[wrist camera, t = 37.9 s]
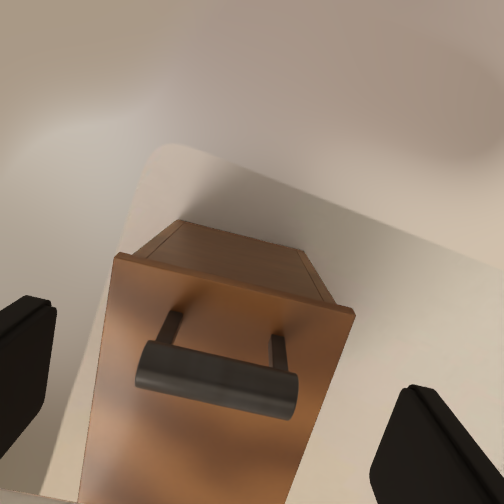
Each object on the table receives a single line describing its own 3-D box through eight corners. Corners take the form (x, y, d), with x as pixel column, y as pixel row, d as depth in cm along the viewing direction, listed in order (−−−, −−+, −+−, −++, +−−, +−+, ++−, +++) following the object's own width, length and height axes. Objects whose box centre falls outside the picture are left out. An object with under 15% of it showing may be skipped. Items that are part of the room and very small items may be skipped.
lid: (119, 251, 18) (63, 303, 13) (352, 307, 19) (388, 378, 14) (81, 500, 24) (29, 610, 18) (266, 537, 24) (268, 654, 19)
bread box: (177, 219, 34) (127, 257, 20) (304, 250, 35) (340, 309, 21) (143, 374, 38) (81, 500, 24) (260, 400, 38) (266, 537, 24)
